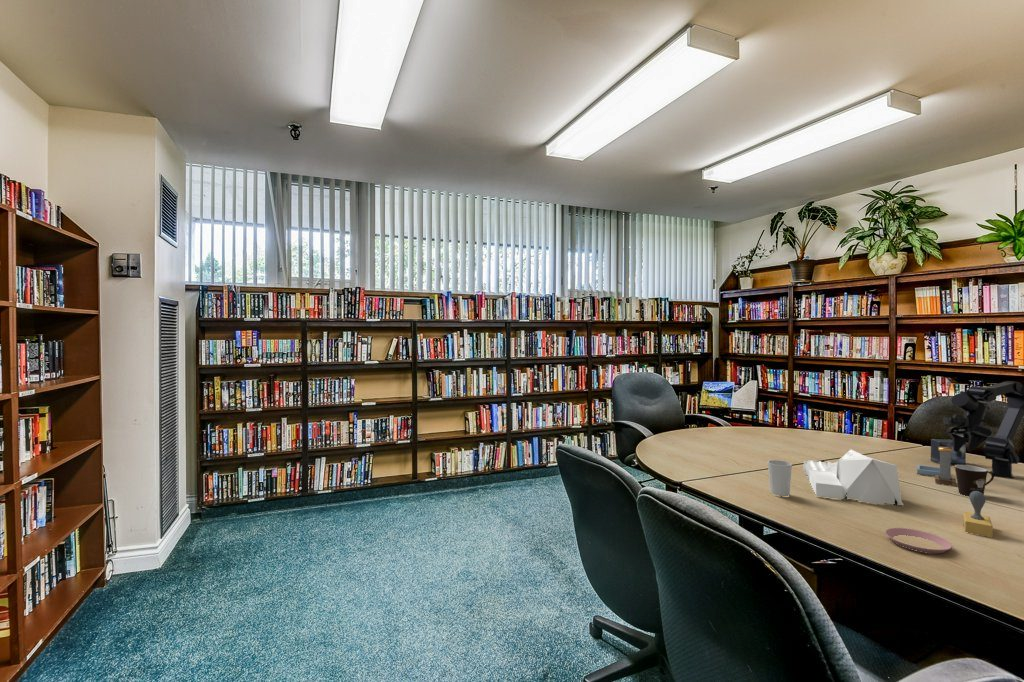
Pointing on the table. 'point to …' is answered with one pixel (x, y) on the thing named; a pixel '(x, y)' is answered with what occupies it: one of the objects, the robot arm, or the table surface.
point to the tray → (928, 470)
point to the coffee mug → (971, 479)
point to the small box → (955, 456)
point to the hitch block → (945, 481)
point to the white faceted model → (855, 479)
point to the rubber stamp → (977, 517)
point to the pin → (945, 462)
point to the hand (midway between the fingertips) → (962, 451)
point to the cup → (779, 477)
